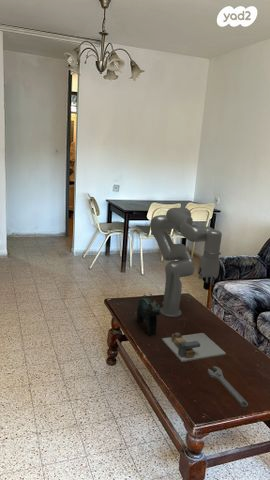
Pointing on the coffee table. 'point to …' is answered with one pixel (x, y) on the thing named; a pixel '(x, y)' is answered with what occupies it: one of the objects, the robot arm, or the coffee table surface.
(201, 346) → the mounting board
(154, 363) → the coffee table surface
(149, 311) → the ceramic cat
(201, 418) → the coffee table surface
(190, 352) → the tan bar
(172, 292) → the robot arm
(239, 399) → the adjustable wrench
